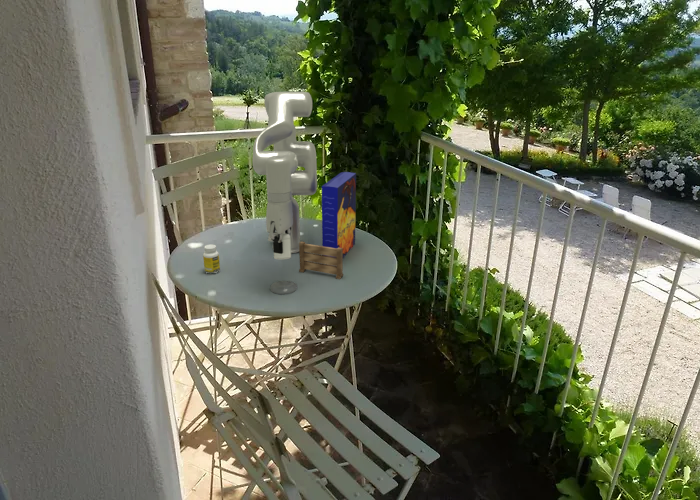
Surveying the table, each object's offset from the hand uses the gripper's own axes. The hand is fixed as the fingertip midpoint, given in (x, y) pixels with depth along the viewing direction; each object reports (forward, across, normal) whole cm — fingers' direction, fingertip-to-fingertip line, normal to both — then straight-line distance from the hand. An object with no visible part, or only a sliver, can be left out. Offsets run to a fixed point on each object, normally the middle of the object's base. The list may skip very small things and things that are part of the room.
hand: (282, 249), depth 163 cm
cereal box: (+14, -35, +6) cm, 38 cm away
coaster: (+14, 0, 0) cm, 14 cm away
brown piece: (+14, -15, +7) cm, 22 cm away
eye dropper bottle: (+3, 0, 0) cm, 3 cm away
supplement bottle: (+14, -2, -30) cm, 33 cm away
